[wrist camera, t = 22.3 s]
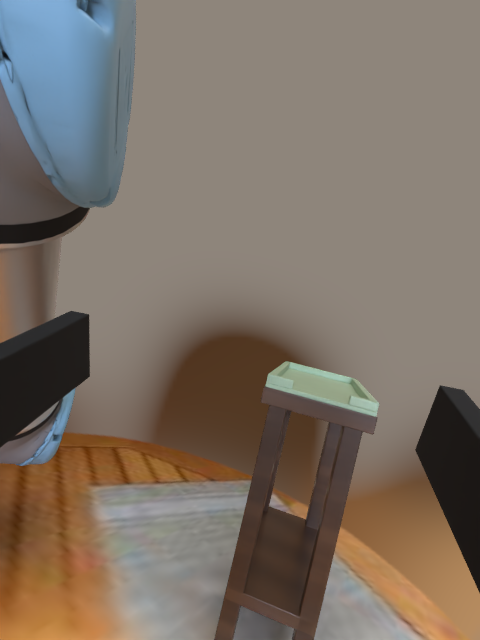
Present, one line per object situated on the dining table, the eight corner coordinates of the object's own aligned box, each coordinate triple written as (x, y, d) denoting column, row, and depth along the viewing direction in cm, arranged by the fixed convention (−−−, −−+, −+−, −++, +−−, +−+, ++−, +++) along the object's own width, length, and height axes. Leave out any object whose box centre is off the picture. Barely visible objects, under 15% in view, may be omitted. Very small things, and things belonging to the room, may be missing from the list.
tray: (376, 417, 30) (379, 403, 30) (265, 386, 32) (268, 373, 32) (354, 387, 47) (356, 379, 47) (284, 369, 49) (285, 361, 49)
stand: (298, 755, 29) (377, 417, 29) (190, 699, 32) (264, 386, 32) (305, 599, 47) (355, 387, 47) (236, 570, 49) (283, 368, 49)
